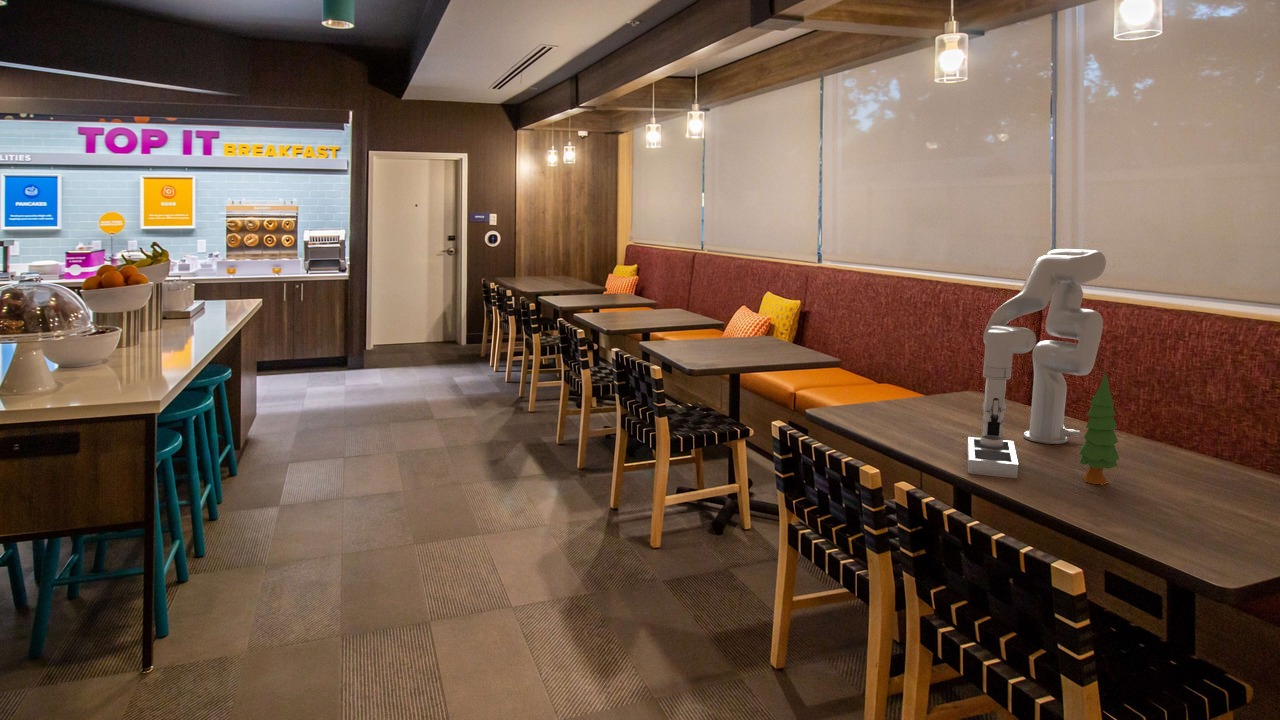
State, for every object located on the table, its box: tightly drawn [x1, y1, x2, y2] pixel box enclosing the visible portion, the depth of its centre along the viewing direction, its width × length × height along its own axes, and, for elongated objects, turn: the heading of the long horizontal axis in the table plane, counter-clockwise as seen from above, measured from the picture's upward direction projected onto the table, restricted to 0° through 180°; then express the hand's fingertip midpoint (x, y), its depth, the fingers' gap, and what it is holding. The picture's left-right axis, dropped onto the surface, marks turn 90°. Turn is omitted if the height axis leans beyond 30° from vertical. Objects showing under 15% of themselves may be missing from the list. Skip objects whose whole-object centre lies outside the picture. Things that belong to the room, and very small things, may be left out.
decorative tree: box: [1079, 371, 1120, 485], centre depth 222 cm, size 10×9×30 cm
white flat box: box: [966, 436, 1019, 479], centre depth 241 cm, size 12×24×4 cm, turn 160°
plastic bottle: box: [980, 399, 1007, 450], centre depth 245 cm, size 6×7×20 cm
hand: (992, 431), depth 245 cm, fingers closed on plastic bottle, 5 cm apart
